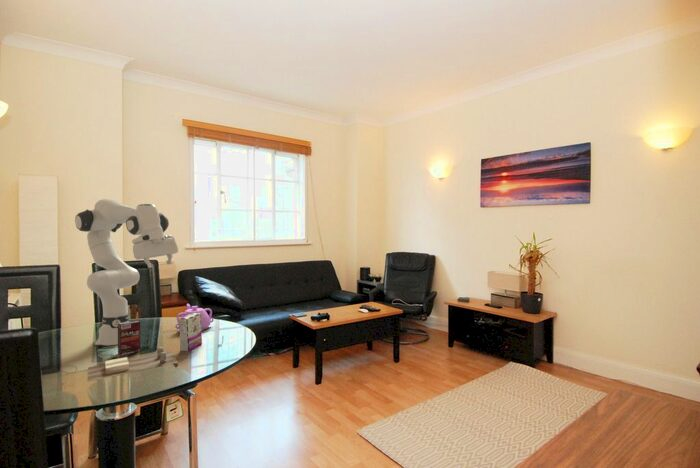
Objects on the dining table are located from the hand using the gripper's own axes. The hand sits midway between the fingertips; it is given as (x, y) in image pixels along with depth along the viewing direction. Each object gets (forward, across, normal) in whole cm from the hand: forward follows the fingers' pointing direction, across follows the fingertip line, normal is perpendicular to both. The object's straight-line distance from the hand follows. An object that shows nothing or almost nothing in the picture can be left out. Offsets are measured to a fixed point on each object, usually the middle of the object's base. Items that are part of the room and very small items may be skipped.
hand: (160, 265), depth 169 cm
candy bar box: (+43, -12, -9) cm, 46 cm away
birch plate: (+39, +22, -11) cm, 46 cm away
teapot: (+38, -36, -36) cm, 64 cm away
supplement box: (+38, +8, -26) cm, 47 cm away
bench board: (+41, +17, -8) cm, 45 cm away
